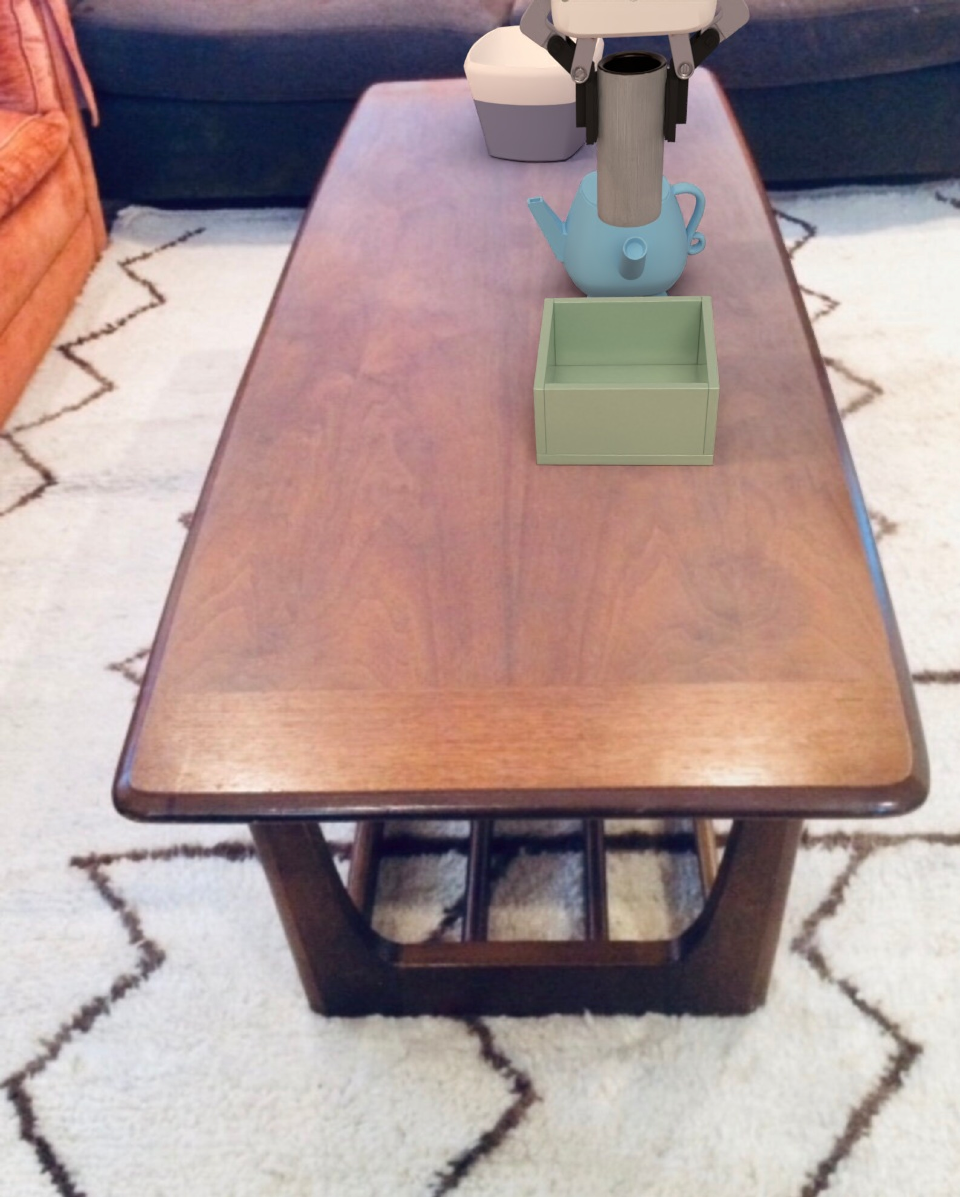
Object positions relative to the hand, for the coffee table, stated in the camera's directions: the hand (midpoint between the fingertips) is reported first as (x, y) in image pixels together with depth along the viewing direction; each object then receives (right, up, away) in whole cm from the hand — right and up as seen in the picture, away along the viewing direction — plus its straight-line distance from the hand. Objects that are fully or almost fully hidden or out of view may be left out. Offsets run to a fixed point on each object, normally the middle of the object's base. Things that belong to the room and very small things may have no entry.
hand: (630, 132), depth 74 cm
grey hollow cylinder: (0, -4, +4) cm, 6 cm away
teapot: (+3, -1, +32) cm, 32 cm away
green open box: (+2, -16, +16) cm, 23 cm away
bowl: (-3, +23, +58) cm, 62 cm away
